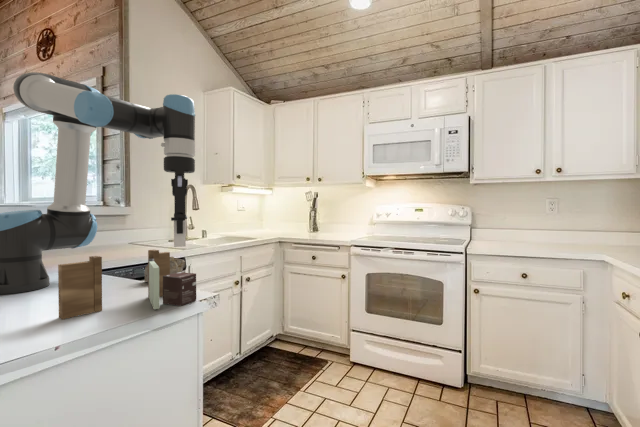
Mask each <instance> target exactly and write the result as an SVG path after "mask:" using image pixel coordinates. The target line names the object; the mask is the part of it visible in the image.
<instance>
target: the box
mask: <svg viewBox="0 0 640 427" xmlns="http://www.w3.org/2000/svg"><path fill="white" fill-rule="evenodd" d="M195 301H197V273H193V272H183V271H182V272H179V273H174V274H169V275H165V276H163V296H162V305H163V304H164V305H170V306H171V305H172V306H177V307H182V306H185V305H187V304H191V303H193V302H195Z"/></svg>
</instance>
